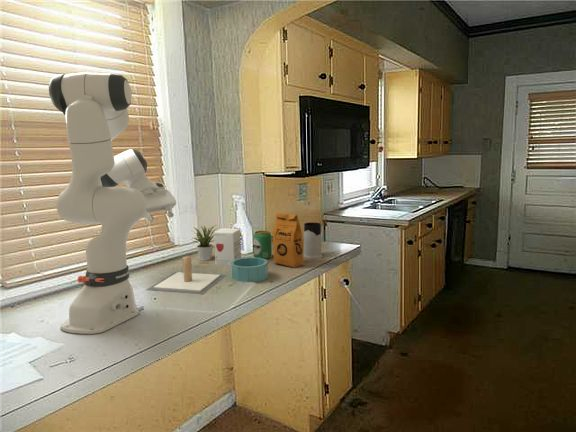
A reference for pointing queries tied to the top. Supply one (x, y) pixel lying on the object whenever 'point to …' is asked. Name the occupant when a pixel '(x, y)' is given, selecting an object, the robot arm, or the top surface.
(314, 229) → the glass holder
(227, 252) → the supplement box
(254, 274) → the bowl
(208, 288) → the rubber mat
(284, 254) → the coffee package
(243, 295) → the top surface
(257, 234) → the beverage can
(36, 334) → the top surface
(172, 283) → the peg on square base
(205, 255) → the house plant
